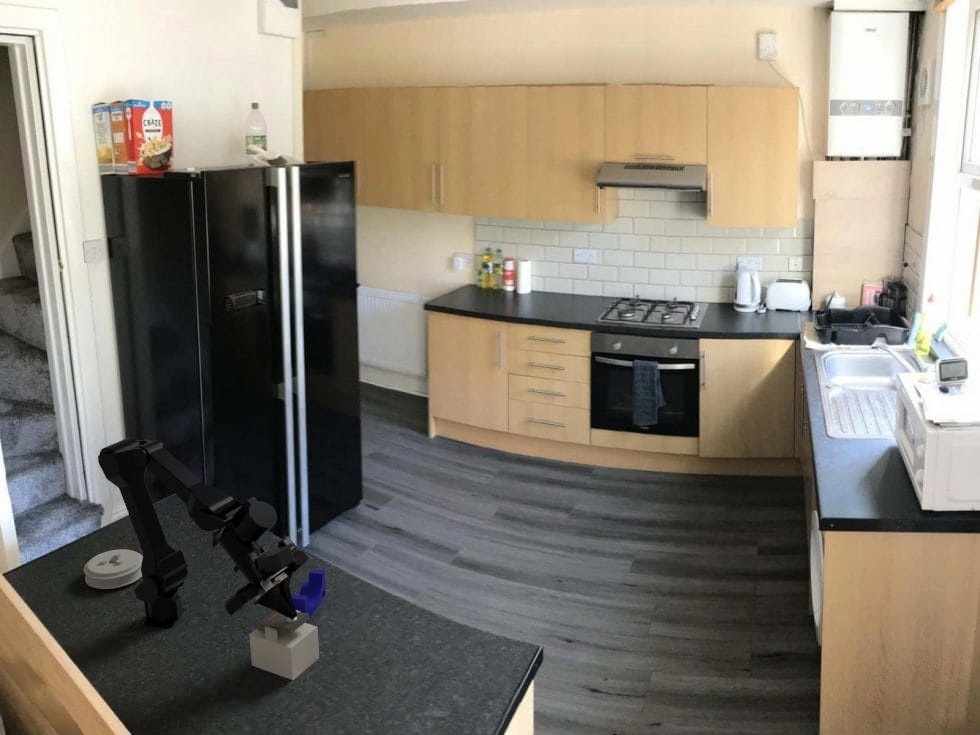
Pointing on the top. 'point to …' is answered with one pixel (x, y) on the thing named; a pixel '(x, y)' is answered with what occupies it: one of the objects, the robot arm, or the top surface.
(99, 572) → the lid
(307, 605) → the blue notched block
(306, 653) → the switch box
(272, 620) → the rocker
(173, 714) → the top surface
